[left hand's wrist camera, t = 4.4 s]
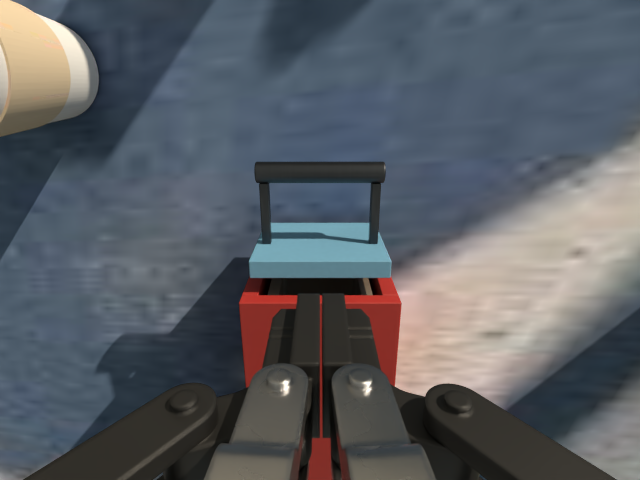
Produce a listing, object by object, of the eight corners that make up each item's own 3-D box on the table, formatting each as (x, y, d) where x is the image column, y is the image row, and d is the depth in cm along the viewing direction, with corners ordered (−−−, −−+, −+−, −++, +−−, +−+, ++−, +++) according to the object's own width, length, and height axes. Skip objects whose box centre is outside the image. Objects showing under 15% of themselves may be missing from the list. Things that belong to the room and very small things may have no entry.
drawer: (261, 152, 30) (242, 170, 22) (378, 152, 30) (397, 170, 22) (274, 396, 38) (263, 469, 31) (366, 396, 38) (377, 469, 31)
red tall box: (261, 245, 34) (238, 303, 24) (378, 245, 34) (401, 302, 24) (271, 417, 40) (256, 515, 31) (369, 417, 40) (384, 515, 31)
